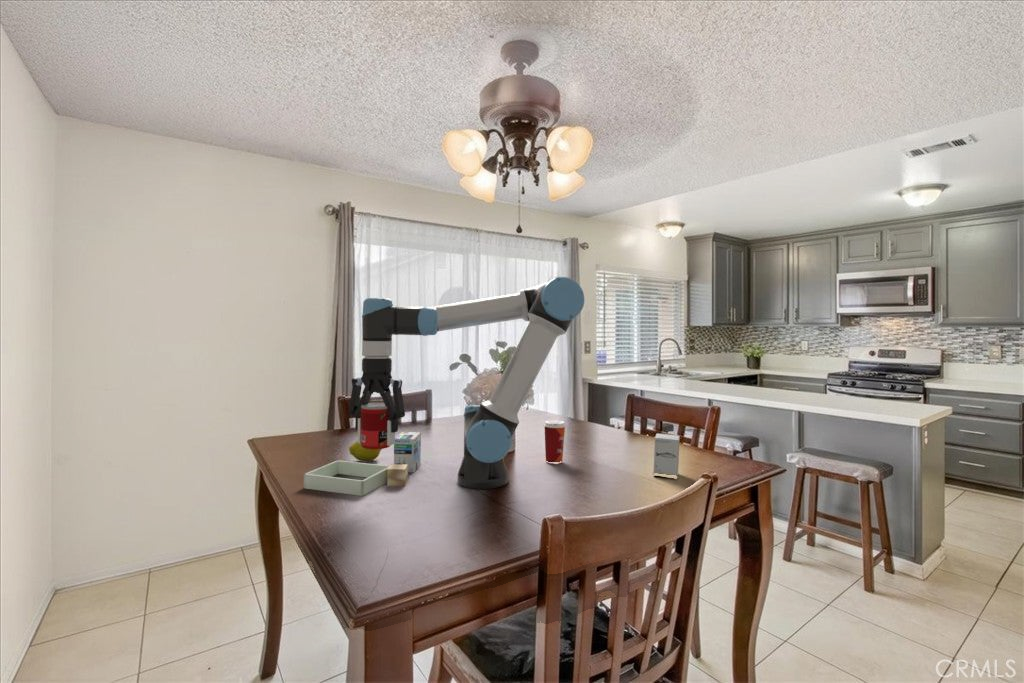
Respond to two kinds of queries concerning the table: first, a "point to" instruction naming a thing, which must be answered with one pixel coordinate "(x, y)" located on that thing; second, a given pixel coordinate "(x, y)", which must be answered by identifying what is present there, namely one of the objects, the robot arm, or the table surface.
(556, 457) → the paper cup
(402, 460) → the light bulb box
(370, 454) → the lemon
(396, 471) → the maple block
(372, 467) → the box
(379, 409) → the canned food
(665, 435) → the supplement box
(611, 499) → the table surface
